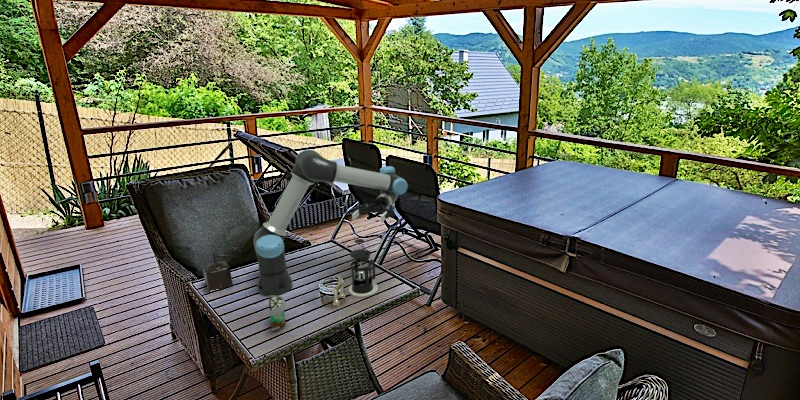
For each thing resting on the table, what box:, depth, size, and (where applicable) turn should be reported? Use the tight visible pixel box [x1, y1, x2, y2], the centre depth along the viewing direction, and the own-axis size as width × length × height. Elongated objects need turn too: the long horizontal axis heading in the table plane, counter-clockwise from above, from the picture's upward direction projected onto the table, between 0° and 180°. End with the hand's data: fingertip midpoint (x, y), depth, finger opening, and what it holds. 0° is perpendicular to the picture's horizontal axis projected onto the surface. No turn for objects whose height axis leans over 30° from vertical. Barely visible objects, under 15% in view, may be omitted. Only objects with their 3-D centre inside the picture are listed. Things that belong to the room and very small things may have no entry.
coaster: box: [348, 281, 379, 298], centre depth 198 cm, size 13×13×1 cm
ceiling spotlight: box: [332, 275, 346, 307], centre depth 191 cm, size 4×13×7 cm, turn 179°
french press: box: [349, 238, 376, 294], centre depth 195 cm, size 12×9×23 cm
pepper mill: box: [202, 246, 240, 291], centre depth 205 cm, size 16×11×18 cm
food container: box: [267, 295, 287, 333], centre depth 173 cm, size 12×6×10 cm, turn 17°
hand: (367, 218), depth 198 cm, fingers open, 13 cm apart
